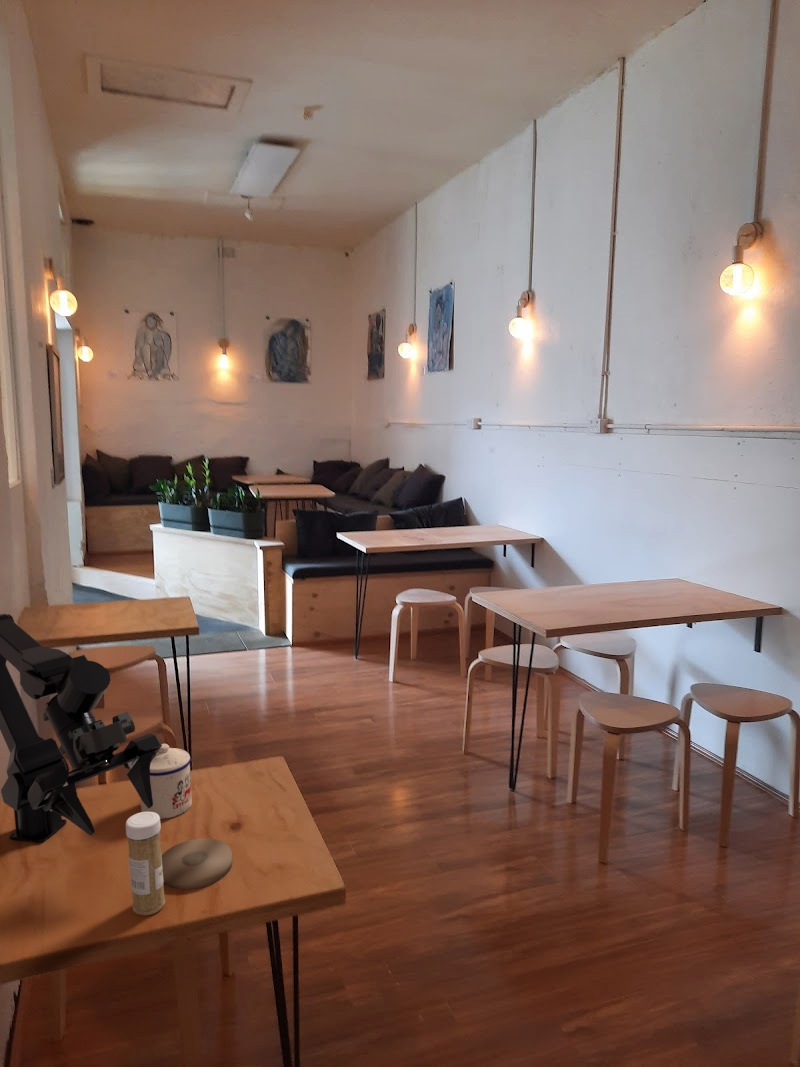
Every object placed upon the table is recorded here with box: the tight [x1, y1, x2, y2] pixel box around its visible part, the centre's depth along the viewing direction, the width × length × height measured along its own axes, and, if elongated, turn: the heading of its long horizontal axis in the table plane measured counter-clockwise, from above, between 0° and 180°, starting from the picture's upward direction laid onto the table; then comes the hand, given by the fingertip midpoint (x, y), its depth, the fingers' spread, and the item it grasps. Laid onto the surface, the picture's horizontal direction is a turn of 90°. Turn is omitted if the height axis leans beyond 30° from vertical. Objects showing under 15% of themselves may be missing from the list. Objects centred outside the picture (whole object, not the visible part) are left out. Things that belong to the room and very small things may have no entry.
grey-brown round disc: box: [161, 838, 233, 890], centre depth 116 cm, size 11×11×2 cm
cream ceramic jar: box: [140, 743, 193, 820], centre depth 135 cm, size 12×9×12 cm
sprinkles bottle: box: [125, 811, 166, 916], centre depth 106 cm, size 5×5×13 cm
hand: (122, 820), depth 108 cm, fingers open, 9 cm apart
